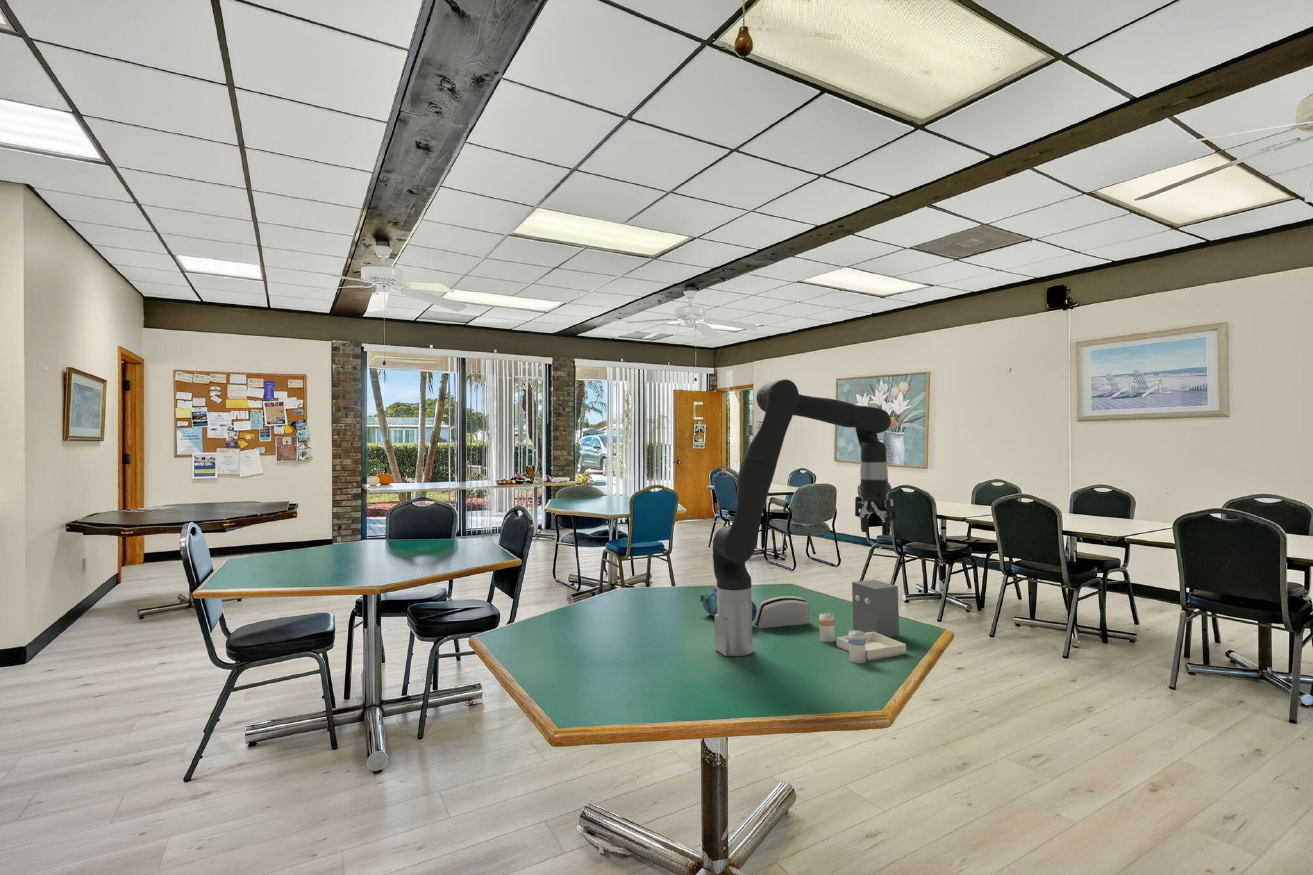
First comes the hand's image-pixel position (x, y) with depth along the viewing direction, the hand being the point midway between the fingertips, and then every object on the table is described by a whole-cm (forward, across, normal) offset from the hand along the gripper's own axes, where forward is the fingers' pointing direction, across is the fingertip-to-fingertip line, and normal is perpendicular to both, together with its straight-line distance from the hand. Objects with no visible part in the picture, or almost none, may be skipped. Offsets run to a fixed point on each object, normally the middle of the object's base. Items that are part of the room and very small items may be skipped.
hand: (875, 533), depth 178 cm
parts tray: (+29, +10, -12) cm, 33 cm away
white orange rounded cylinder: (+29, -2, -17) cm, 33 cm away
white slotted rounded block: (+29, -20, -19) cm, 40 cm away
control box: (+29, -1, 0) cm, 29 cm away
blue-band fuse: (+29, +15, -20) cm, 39 cm away
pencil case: (+29, -31, -32) cm, 53 cm away
